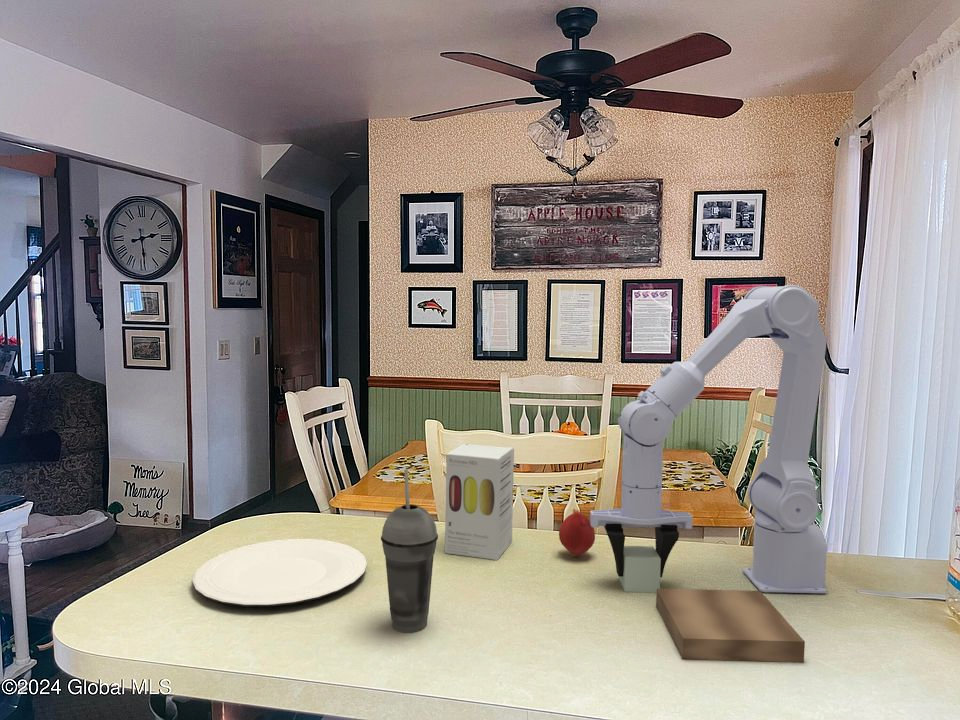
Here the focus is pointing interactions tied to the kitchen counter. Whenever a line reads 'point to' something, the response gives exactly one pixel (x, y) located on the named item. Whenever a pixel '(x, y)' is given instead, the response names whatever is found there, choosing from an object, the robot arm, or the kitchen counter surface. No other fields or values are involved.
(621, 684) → the kitchen counter surface
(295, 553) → the plate
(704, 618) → the walnut base
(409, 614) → the beverage cup
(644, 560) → the sage block
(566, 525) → the onion
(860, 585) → the kitchen counter surface
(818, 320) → the robot arm
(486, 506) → the supplement box
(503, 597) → the kitchen counter surface
